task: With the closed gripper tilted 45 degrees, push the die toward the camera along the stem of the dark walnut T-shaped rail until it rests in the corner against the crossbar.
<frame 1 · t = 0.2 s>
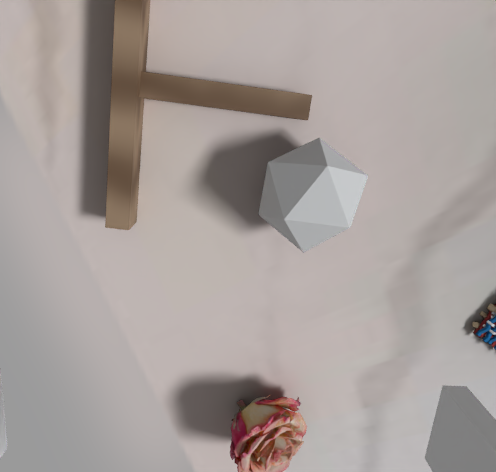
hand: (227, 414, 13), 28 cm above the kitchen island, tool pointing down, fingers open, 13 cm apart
die: (303, 187, 40), on the kitchen island
walnut T rail: (133, 84, 37), on the kitchen island
flower: (267, 408, 46), on the kitchen island
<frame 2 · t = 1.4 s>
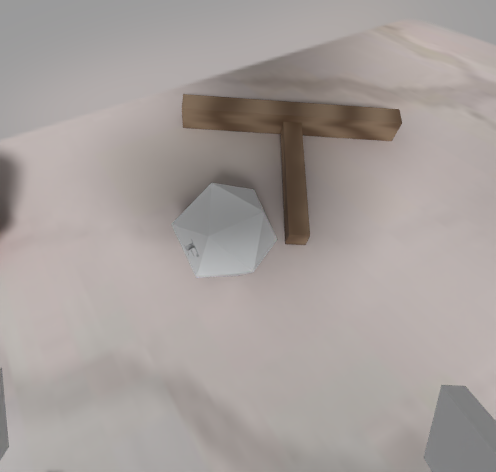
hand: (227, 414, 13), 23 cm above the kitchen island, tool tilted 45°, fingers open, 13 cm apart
die: (224, 251, 42), on the kitchen island
walnut T rail: (289, 127, 49), on the kitchen island
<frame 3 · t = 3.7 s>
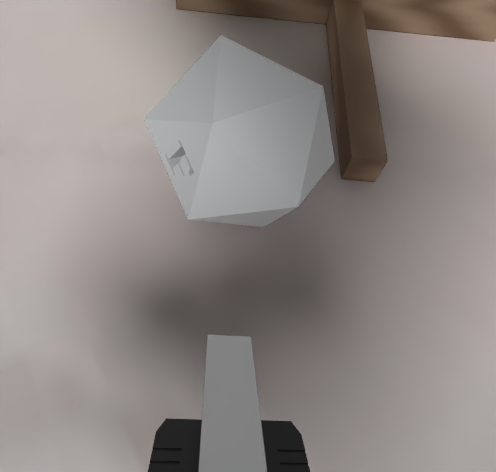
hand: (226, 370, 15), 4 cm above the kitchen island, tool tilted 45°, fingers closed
die: (238, 188, 24), on the kitchen island
walnut T rail: (338, 16, 32), on the kitchen island
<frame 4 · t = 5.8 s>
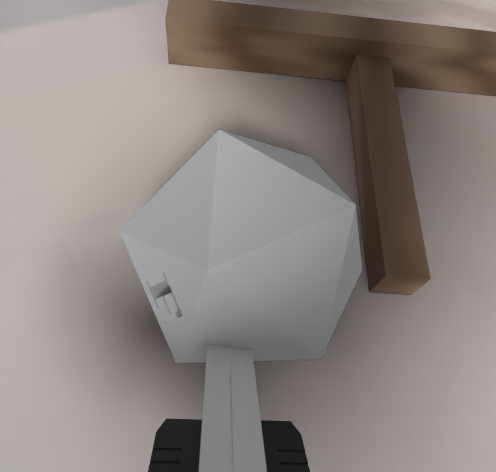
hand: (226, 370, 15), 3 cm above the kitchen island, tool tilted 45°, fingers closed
die: (240, 289, 20), on the kitchen island, touching gripper
walnut T rail: (360, 71, 27), on the kitchen island
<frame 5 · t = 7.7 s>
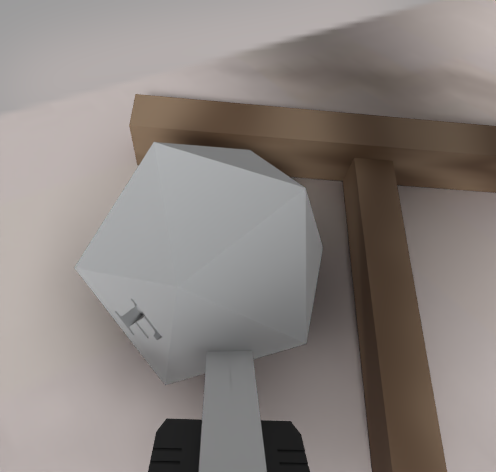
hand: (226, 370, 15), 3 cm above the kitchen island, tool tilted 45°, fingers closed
die: (210, 294, 20), on the kitchen island, touching gripper
walnut T rail: (358, 167, 24), on the kitchen island
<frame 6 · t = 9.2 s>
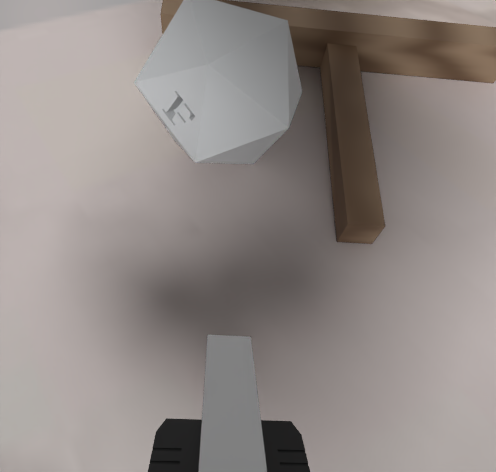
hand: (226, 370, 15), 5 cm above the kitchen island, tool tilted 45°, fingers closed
die: (221, 137, 27), on the kitchen island
walnut T rail: (332, 59, 31), on the kitchen island
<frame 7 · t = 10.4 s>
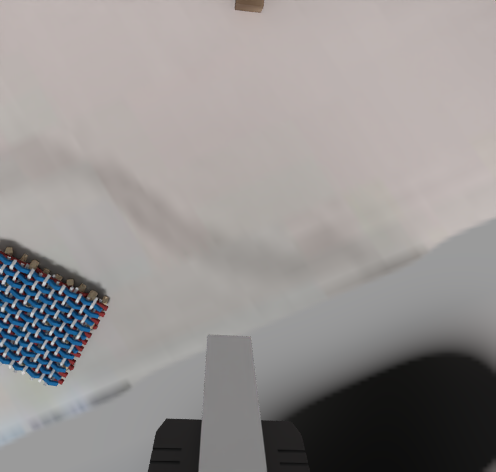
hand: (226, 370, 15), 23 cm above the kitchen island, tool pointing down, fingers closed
woven mat: (37, 313, 40), on the kitchen island
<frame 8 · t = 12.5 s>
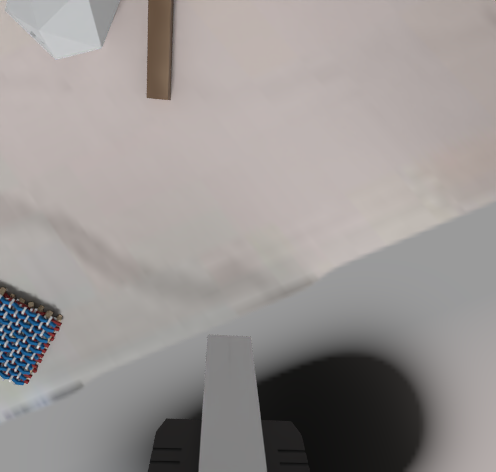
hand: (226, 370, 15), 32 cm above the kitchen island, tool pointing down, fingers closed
die: (79, 13, 41), on the kitchen island
woven mat: (7, 328, 50), on the kitchen island
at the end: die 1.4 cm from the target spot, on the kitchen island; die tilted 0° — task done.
